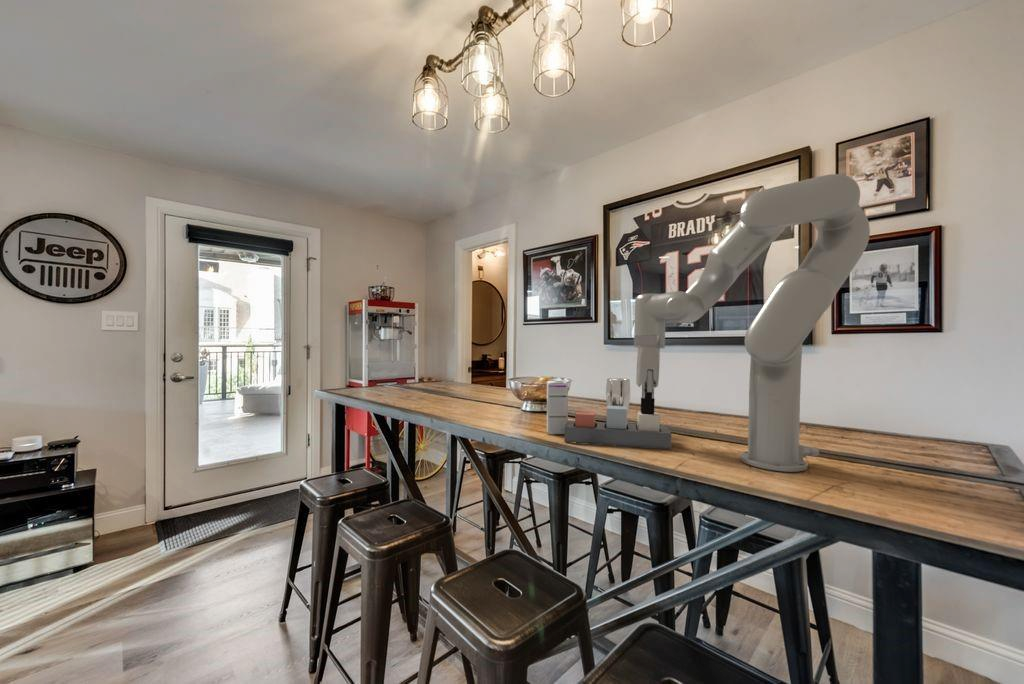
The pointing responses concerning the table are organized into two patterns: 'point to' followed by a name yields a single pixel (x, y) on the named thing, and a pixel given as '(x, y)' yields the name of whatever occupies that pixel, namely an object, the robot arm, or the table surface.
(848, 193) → the robot arm
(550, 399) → the syrup box
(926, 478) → the table surface
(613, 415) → the grey cube
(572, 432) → the grey slotted holder
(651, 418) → the key ivory
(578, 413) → the key red
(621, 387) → the beer glass
